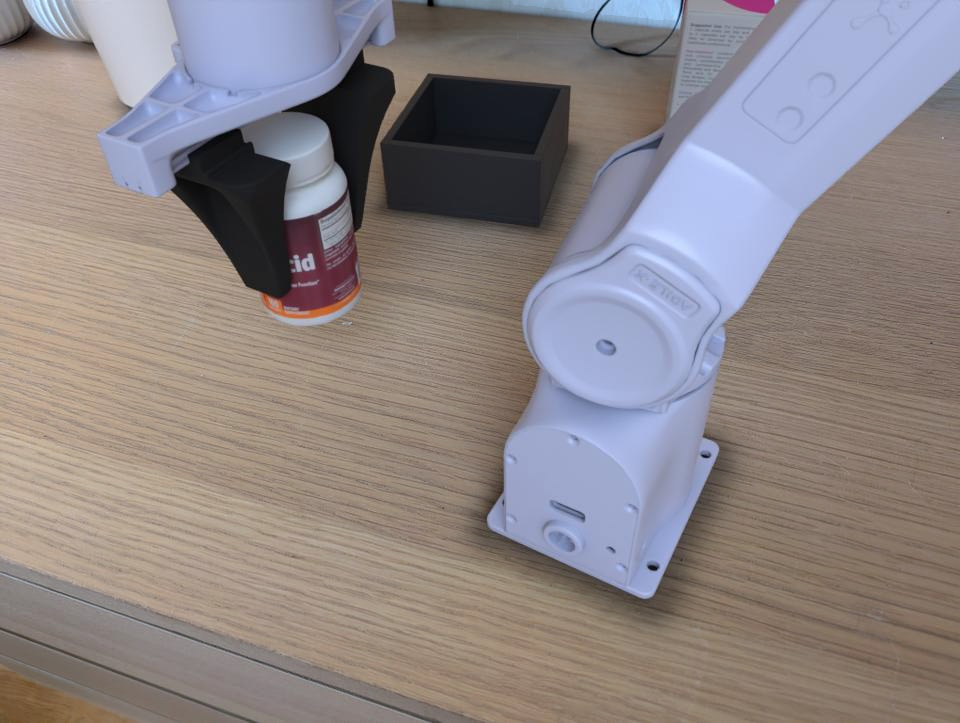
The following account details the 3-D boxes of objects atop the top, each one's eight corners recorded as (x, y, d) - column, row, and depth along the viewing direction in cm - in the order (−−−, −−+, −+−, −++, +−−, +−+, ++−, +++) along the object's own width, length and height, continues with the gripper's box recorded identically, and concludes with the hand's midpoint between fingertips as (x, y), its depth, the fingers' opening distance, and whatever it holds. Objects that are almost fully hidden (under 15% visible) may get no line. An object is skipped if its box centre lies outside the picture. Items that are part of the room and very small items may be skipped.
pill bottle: (242, 316, 38) (193, 152, 32) (297, 258, 41) (261, 99, 35) (333, 340, 36) (298, 173, 31) (381, 278, 39) (359, 116, 34)
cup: (213, 125, 66) (167, -42, 57) (92, 128, 66) (28, -39, 58) (239, 72, 73) (202, -84, 65) (130, 75, 73) (79, -81, 65)
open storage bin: (539, 227, 54) (541, 160, 51) (387, 208, 57) (379, 143, 53) (567, 148, 62) (570, 85, 58) (432, 134, 64) (427, 72, 61)
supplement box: (742, 179, 58) (779, 15, 50) (658, 172, 59) (680, 10, 51) (740, 139, 62) (774, -18, 54) (661, 133, 63) (683, -22, 55)
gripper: (279, -135, 34) (330, 160, 43) (-28, -22, 25) (121, 321, 34) (425, -118, 31) (445, 192, 40) (142, 16, 22) (253, 376, 31)
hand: (306, 254), depth 37 cm, fingers closed on pill bottle, 5 cm apart
